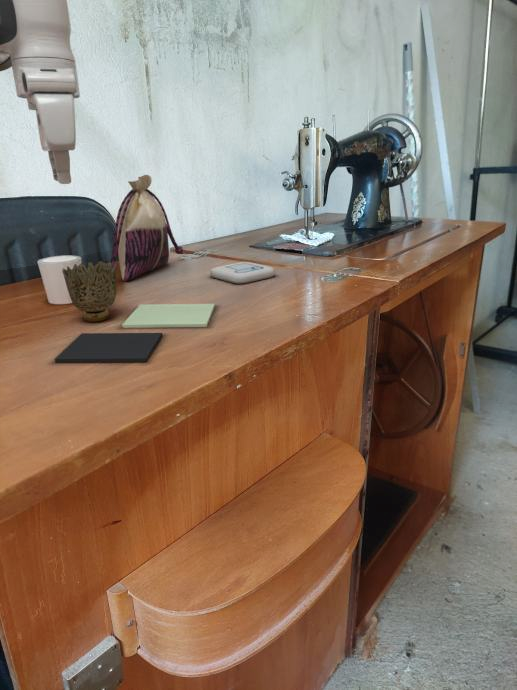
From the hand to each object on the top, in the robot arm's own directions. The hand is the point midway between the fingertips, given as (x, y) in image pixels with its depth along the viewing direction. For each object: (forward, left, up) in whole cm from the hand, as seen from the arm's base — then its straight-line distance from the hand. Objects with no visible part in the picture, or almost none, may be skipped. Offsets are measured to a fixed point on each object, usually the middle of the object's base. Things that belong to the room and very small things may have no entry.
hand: (62, 182), depth 81 cm
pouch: (+7, +19, -19) cm, 28 cm away
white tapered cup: (-2, -1, -19) cm, 19 cm away
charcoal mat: (+13, -24, -19) cm, 33 cm away
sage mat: (+18, -11, -19) cm, 28 cm away
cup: (+7, -12, -19) cm, 23 cm away
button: (+27, +14, -19) cm, 36 cm away
